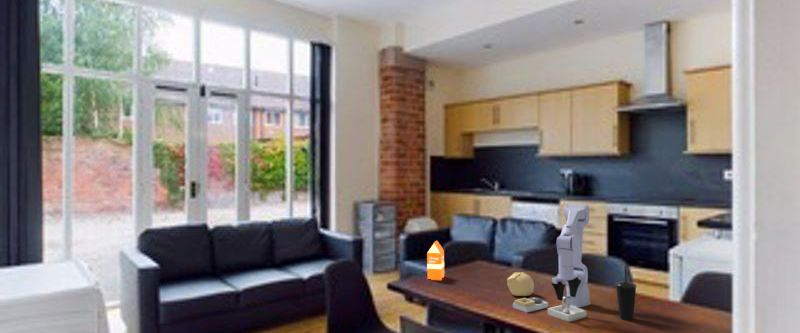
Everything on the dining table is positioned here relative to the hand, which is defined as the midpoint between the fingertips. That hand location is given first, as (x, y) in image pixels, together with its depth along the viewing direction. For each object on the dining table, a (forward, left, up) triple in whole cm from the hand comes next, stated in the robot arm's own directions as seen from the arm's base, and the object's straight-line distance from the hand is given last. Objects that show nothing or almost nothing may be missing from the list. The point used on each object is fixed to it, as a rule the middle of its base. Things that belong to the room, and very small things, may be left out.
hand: (566, 298), depth 191 cm
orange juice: (+9, -81, -7) cm, 82 cm away
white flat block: (+4, -16, -7) cm, 18 cm away
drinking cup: (-17, +15, -7) cm, 24 cm away
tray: (0, 0, -7) cm, 7 cm away
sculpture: (-6, -32, -8) cm, 33 cm away
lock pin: (0, 0, -7) cm, 7 cm away
